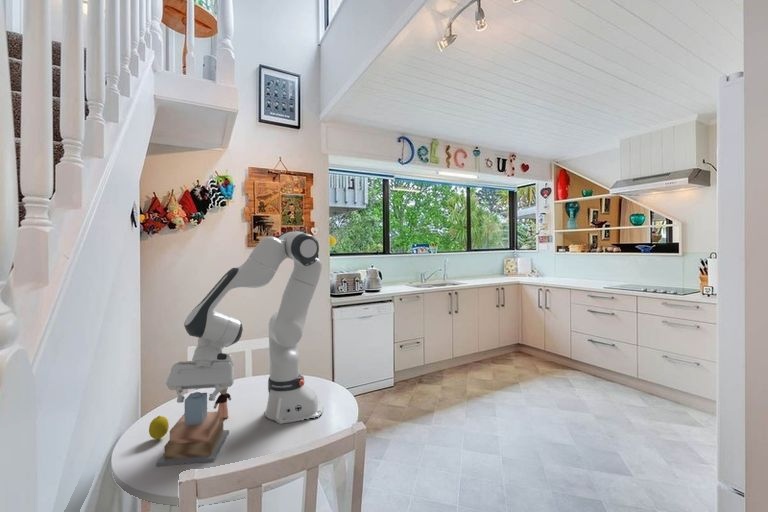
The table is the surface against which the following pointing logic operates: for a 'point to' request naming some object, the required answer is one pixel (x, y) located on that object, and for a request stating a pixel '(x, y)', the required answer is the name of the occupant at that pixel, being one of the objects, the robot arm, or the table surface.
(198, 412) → the blue knobbed block
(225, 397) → the grandmother figurine
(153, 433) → the lemon
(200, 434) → the terracotta brick
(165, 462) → the baseplate
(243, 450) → the table surface
